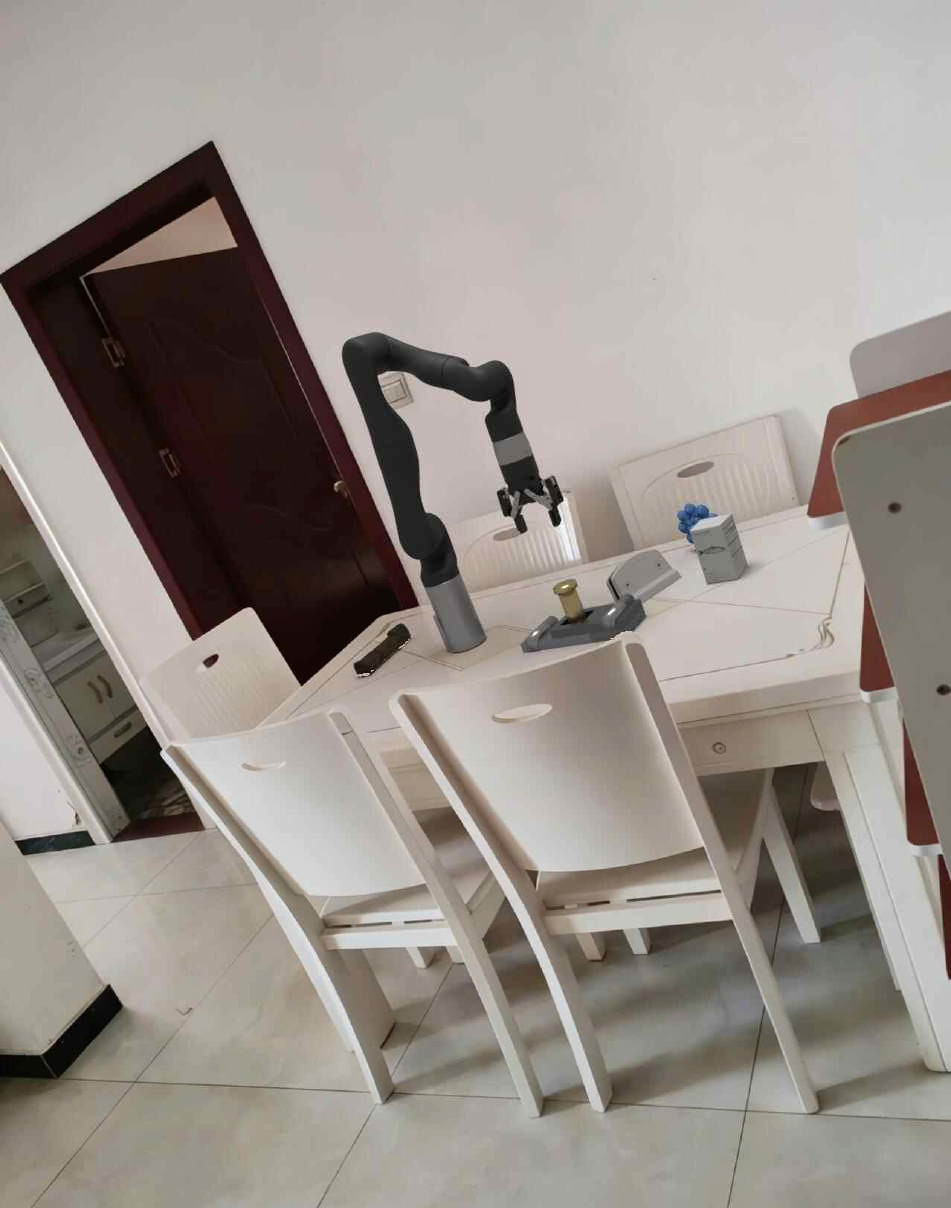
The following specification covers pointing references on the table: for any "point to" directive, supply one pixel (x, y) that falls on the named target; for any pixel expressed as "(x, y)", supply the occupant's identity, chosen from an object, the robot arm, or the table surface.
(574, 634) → the gray socket base
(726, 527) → the supplement box
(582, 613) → the brass pin
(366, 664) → the hand tool
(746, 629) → the table surface
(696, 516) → the grapes
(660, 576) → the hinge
